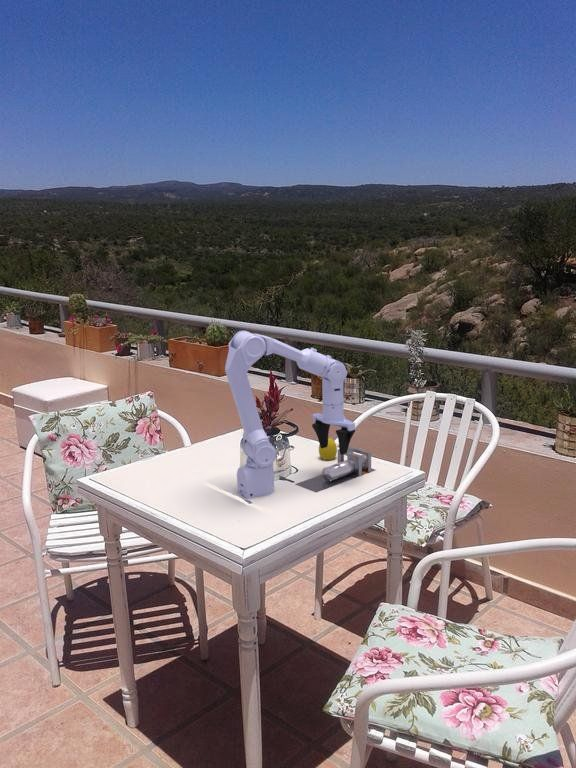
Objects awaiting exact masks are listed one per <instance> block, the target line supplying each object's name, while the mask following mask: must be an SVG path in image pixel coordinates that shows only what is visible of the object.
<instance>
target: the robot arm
mask: <svg viewBox="0 0 576 768" xmlns="http://www.w3.org/2000/svg"><path fill="white" fill-rule="evenodd" d="M317 351H318V350H317V349H316V348H314V347H310V348H308V347H307V348H305V349H301V350H300V349H298V348H295V347H294V346H291V345H289V344H287V343H284V342H282V341H279V340H278V339H276V338H273V337H270V336H268V335H267V336H266V335H263V334H259V333H255V332H253V333H251V332H250V331H248V330H239V331H238V332H236V333H235V334H234V336H232V339H231V340H230V341H229V342H228V353H227V357H226V361H225V366H224V371H225V375H226V377H227V382H228V385H229V388H230V392H231V395H232V398H233V401H234V405H235V407H236V411H237V414H238V417H239V420H240V424H241V427H242V430H243V433H242V439H243V444H242V450H243V453H244V454H245V455H246V456H247V458H246V462H245V464H244V465H242V466H240V467H238V468H237V471H236V481H237V485H236V486H237V492H238V493H239V494H240V495H242V496H243V497H244V498H243V497H242V499H243V500H244V501H245V502H246V503H248V504H254V503H253V502H252V501H251V500H248V499H252V498H257V497H262V496H264V497H265V496H269V495H272V494H273V493H274V492H275V472H274V462H275V460H276V458H277V451H276V448H275V446H273V445H272V444H271V442H270V439H269V436H267V433H266V432H265V430H264V427H263V424H262V421H261V418H260V414H259V411H258V407H257V405H256V401H255V398H254V394H253V391H252V388H251V385H250V380H249V377H248V372H249V370H250V369H251V367H252V365H254V364H255V363H256V362H257V361H259V360H260V358H262V357H263V356H264V355H265V356H269V355H272V354H275V355H279V356H281V357H284V358H286V359H289V360H291V361H294V362H296V365H297V367H298V368H299V369H300V370H303V371H305V372H308V373H310V374H313V375H315V376H318V377H321V379H322V380H321V381H322V385H321V387H322V413H319V412H316V413H313V414H312V422H314V423H312V424H311V426H312V428H313V431H314V432H315V434H316V436H317V438H318V439H317V440H318V442H319V445H320V447H321V448H325V447H327V446H328V437H329V433H330V427H331V426H334V427H337V428H340V429H336V430H335V434H336V435H337V439H338V450H339V451H340V454H345V453H347V450H348V447H349V446H350V442H351V439H352V438H353V435H354V434H355V432H356V422H354V421H351V420H349V419H347V418H346V415H344V408H345V407H344V404H345V403H344V402H345V401H344V381H345V379H346V378H347V375H348V370H347V369H346V365H345V363H343V362H342V361H339V360H337V359H334V358H332V356H331V355H329V354H327V355H325V354H322V353H320V352H317Z"/></svg>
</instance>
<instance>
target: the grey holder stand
mask: <svg viewBox="0 0 576 768" xmlns="http://www.w3.org/2000/svg"><path fill="white" fill-rule="evenodd" d="M361 455H365V469H362V456H361ZM345 456H346V460H348V459H351V458H355V472H354V473H351V474H349V475H346V476H343V477H341V478H338V479H335V480H333V481H330V482H327V481H326V480H325V479H324V478H323V475H322V474H320V475H317V476H314V477H311V478H308V479H306V480H303V481H299V482H296V483H295V484H294V485H295V486H298V487H300V488H303V489H305V490H308V491H310V492H313V493H319V492H322V491H324V490H326V489H330V488H332V487H335V486H337V485H340V484H343V483H345V482H348V481H351V480H354V479H356V478H357V479H358V477H362V476H365V475H367V474H371V473H373V472H375V471H376V469H374V468H372V452H371V451H368V450H365V449H362V448H361V449H360V448H359V447H355V446H351V445H349V446H348V450H347V453H345V454H340V451H339V449H337V463H340V462H343V461H345Z"/></svg>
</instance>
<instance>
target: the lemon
mask: <svg viewBox="0 0 576 768" xmlns="http://www.w3.org/2000/svg"><path fill="white" fill-rule="evenodd" d="M337 450H338V447H337V443H336V441H335V440H334V439H332V438H330V437H329V436H328V446H327V447H325V448H321V447H320V444H319V445H318V453H319V457H320V458H321V459H322V460H323V461H332V460H334V459H335V458H336V456H337V455H338V451H337Z"/></svg>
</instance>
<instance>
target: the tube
mask: <svg viewBox="0 0 576 768" xmlns="http://www.w3.org/2000/svg"><path fill="white" fill-rule="evenodd" d="M360 455H361V456H362V469H365V455H363V454H360ZM321 471H322V472H321V475H323V478H324V479H325V480H326V481H327V482H330V481H333V480H335V479H338V478H341V477H343V476H346V475H349V474H351V473H354V472H355V458H351V459H348V460H347V459H345V460H344V461H343V462H340V463H338V462H336V463H334V464H332V465H329V466H326V467H324V468H323V469H322V470H321Z"/></svg>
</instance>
